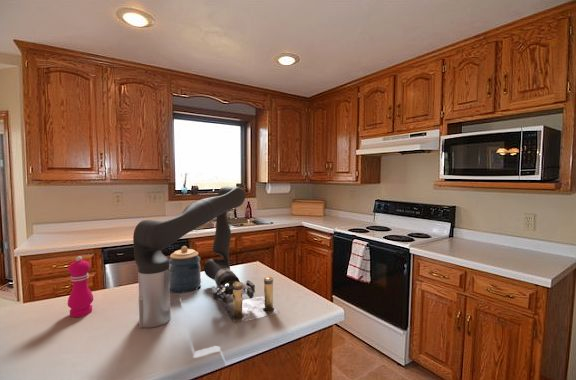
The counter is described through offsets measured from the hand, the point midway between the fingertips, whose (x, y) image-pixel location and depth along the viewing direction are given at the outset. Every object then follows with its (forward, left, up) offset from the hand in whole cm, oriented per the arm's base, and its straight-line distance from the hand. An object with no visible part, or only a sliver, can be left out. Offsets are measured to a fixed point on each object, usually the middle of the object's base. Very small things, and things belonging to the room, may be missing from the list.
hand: (239, 298), depth 91 cm
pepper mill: (-47, +30, -8) cm, 57 cm away
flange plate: (+6, +5, -8) cm, 11 cm away
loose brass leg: (0, +2, -7) cm, 7 cm away
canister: (-12, +38, -8) cm, 41 cm away
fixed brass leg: (+11, +2, -7) cm, 13 cm away
